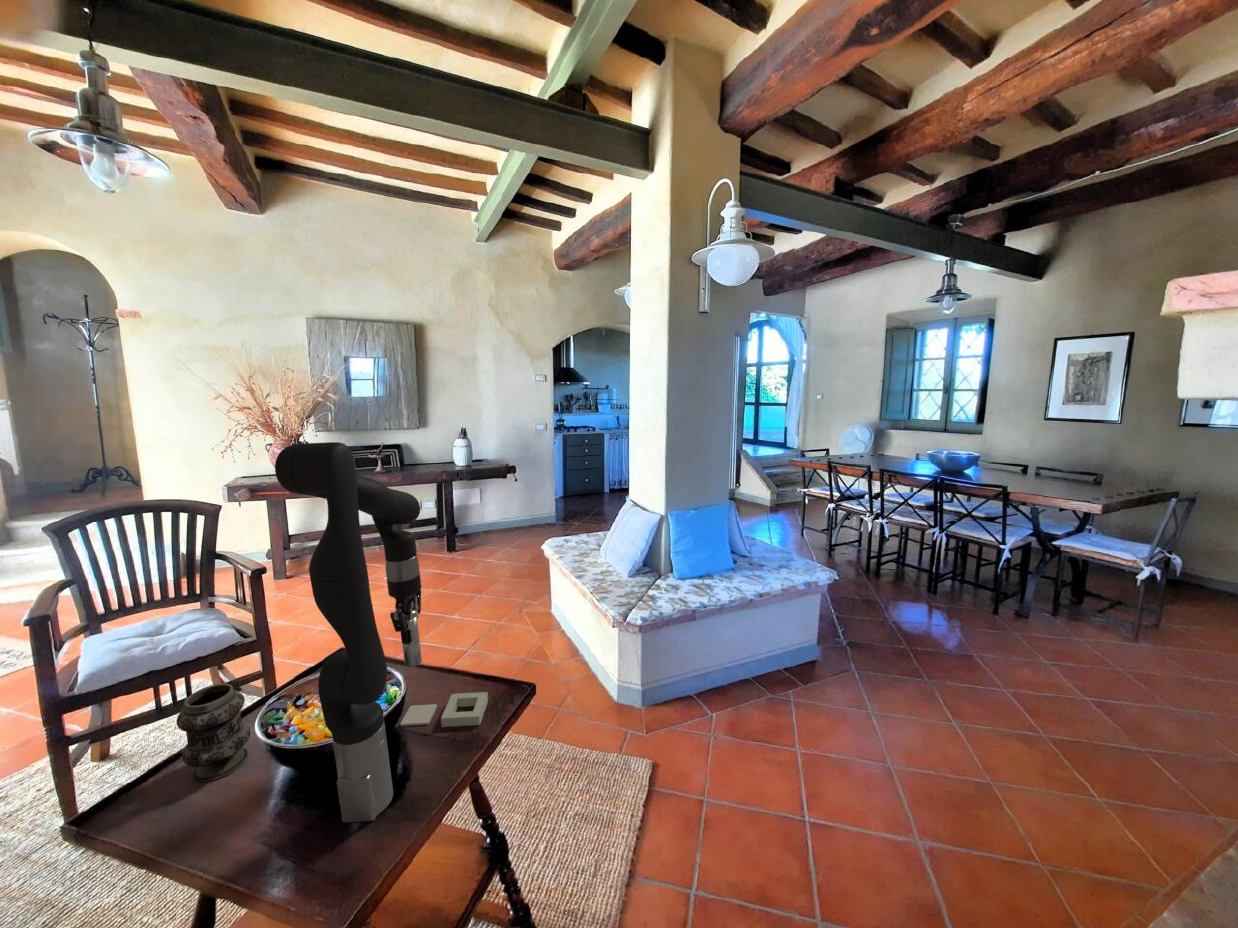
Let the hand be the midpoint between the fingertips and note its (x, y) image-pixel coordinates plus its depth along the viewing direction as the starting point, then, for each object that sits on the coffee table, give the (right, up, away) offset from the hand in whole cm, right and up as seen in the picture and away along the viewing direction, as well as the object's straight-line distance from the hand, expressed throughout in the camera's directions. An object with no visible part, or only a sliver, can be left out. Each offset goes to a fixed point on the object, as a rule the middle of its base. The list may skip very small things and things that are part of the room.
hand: (410, 637), depth 121 cm
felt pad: (+1, -22, +4) cm, 22 cm away
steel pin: (0, -7, +1) cm, 7 cm away
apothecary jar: (-39, -26, -11) cm, 48 cm away
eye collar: (+13, -21, +4) cm, 25 cm away
